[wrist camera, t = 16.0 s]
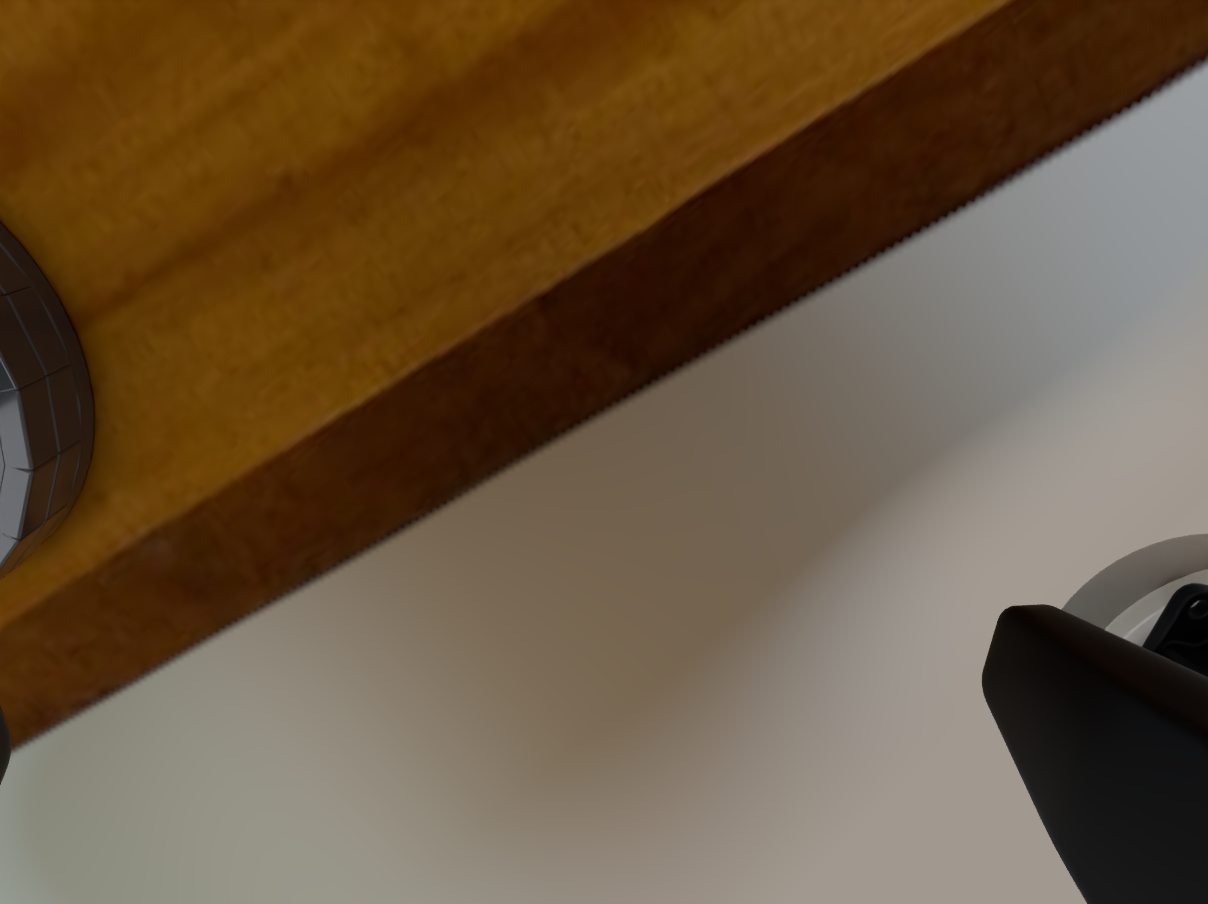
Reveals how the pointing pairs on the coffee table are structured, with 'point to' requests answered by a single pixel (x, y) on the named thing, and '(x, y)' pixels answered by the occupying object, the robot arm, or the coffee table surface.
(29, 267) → the round grey tray
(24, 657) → the coffee table surface
